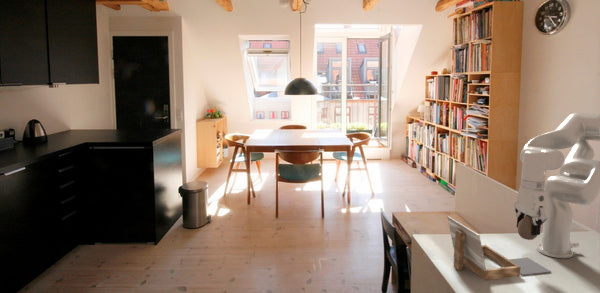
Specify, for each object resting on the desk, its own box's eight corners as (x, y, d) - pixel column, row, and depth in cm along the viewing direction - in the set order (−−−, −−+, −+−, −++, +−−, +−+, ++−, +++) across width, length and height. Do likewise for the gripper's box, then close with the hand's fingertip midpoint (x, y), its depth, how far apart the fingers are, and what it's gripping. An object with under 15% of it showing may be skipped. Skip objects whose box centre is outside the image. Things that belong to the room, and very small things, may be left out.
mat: (527, 258, 165) (527, 257, 165) (551, 272, 154) (551, 271, 154) (500, 261, 163) (500, 260, 163) (522, 275, 151) (522, 274, 151)
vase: (540, 242, 152) (543, 219, 151) (520, 240, 154) (522, 217, 152) (534, 235, 159) (536, 212, 157) (514, 233, 160) (516, 211, 159)
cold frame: (485, 253, 171) (488, 212, 168) (519, 276, 151) (523, 230, 148) (441, 257, 167) (444, 216, 164) (471, 281, 148) (474, 235, 145)
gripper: (560, 190, 145) (555, 239, 148) (524, 178, 162) (520, 222, 165) (541, 191, 144) (536, 240, 147) (507, 179, 161) (503, 223, 163)
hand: (527, 230), depth 156 cm, fingers closed on vase, 6 cm apart
